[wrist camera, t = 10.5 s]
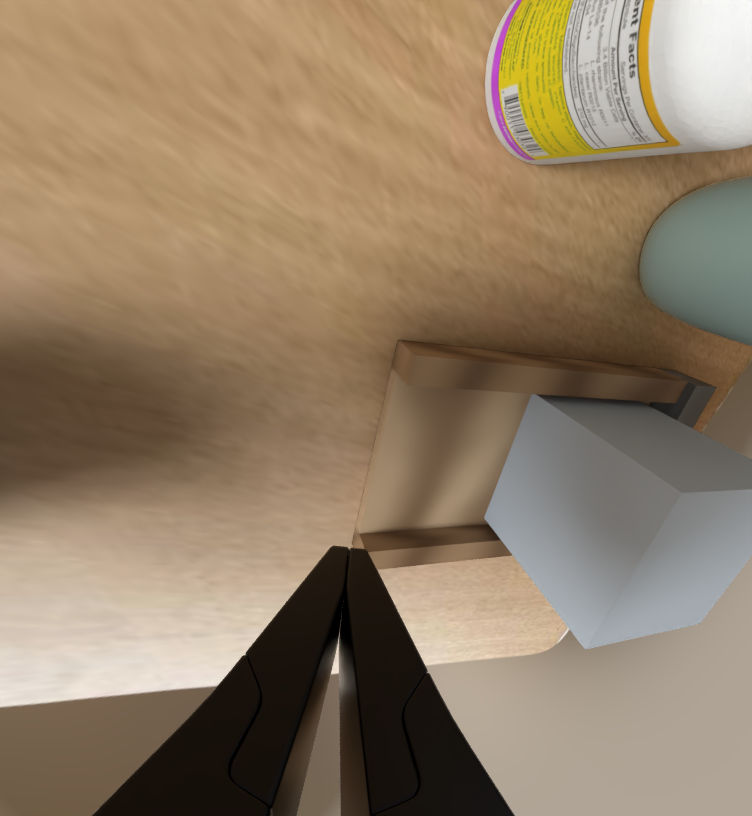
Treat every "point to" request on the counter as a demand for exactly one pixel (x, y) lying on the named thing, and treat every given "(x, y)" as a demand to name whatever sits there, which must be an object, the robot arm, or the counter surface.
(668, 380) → the chute
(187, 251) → the counter surface
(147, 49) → the counter surface
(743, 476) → the block
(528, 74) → the supplement bottle
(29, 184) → the counter surface
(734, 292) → the cup
